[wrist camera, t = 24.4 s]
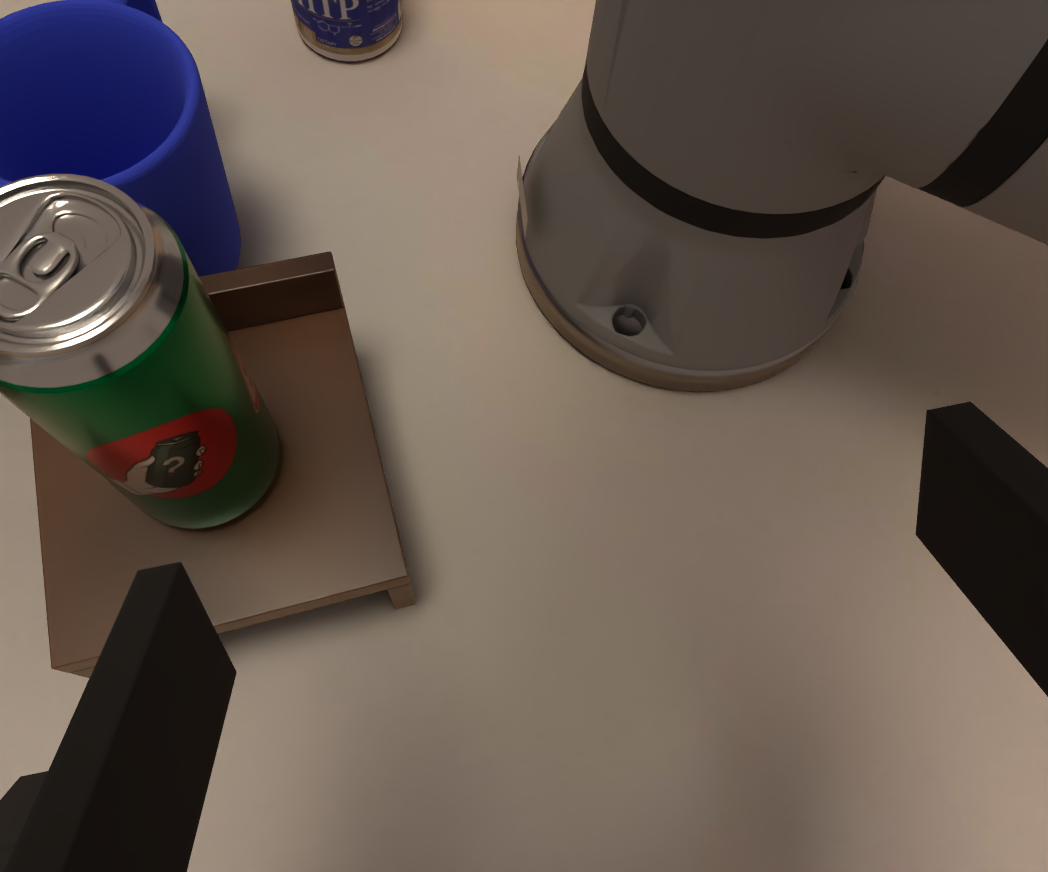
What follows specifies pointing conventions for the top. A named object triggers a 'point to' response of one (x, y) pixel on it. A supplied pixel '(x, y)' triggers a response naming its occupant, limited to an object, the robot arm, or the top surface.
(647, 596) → the top surface
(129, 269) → the soda can
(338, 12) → the pill bottle
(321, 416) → the wooden display riser
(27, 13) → the mug
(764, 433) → the top surface
